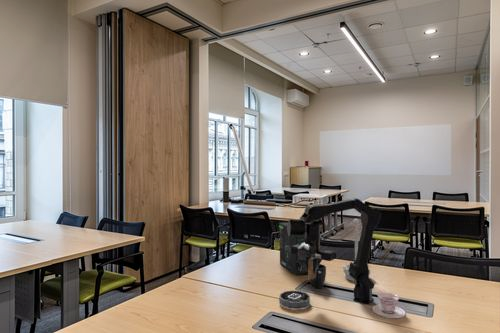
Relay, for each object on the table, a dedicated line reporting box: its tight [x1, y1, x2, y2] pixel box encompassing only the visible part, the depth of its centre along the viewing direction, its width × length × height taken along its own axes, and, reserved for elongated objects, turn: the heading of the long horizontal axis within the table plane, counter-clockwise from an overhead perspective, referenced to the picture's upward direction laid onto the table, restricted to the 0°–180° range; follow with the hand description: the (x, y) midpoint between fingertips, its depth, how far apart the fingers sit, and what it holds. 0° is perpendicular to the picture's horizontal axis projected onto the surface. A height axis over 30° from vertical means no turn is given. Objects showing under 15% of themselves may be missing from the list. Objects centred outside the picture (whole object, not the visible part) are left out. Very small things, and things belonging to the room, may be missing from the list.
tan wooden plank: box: [307, 258, 316, 280], centre depth 140 cm, size 2×3×8 cm, turn 141°
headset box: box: [278, 222, 315, 276], centre depth 187 cm, size 22×12×26 cm, turn 17°
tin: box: [278, 290, 311, 311], centre depth 140 cm, size 12×12×3 cm
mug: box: [309, 263, 327, 289], centre depth 158 cm, size 8×12×10 cm
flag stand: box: [342, 218, 371, 282], centre depth 170 cm, size 13×13×30 cm
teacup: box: [371, 291, 406, 319], centre depth 132 cm, size 12×12×6 cm
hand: (312, 272), depth 140 cm, fingers closed on tan wooden plank, 2 cm apart
